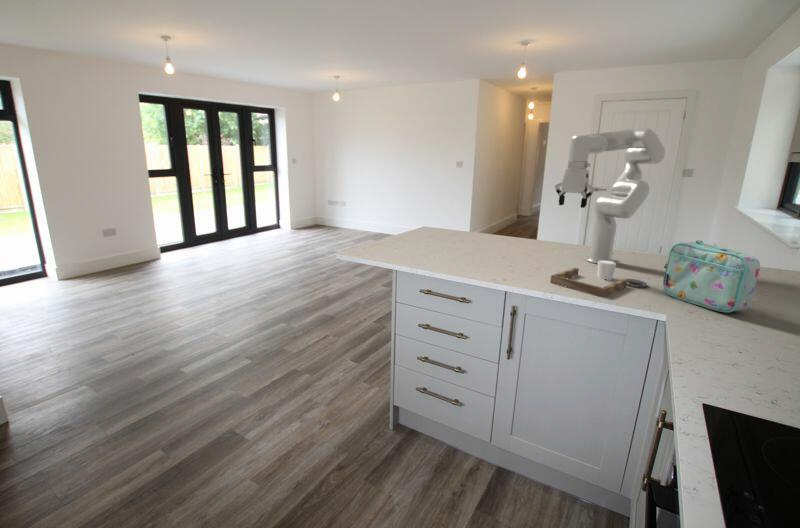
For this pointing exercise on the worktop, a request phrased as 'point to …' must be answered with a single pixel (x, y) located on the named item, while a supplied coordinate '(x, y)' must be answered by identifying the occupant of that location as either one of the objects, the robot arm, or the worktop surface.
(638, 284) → the dark grey round dish
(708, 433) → the worktop surface
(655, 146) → the robot arm
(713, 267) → the lunch box
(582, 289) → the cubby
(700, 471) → the worktop surface
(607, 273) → the white cup
